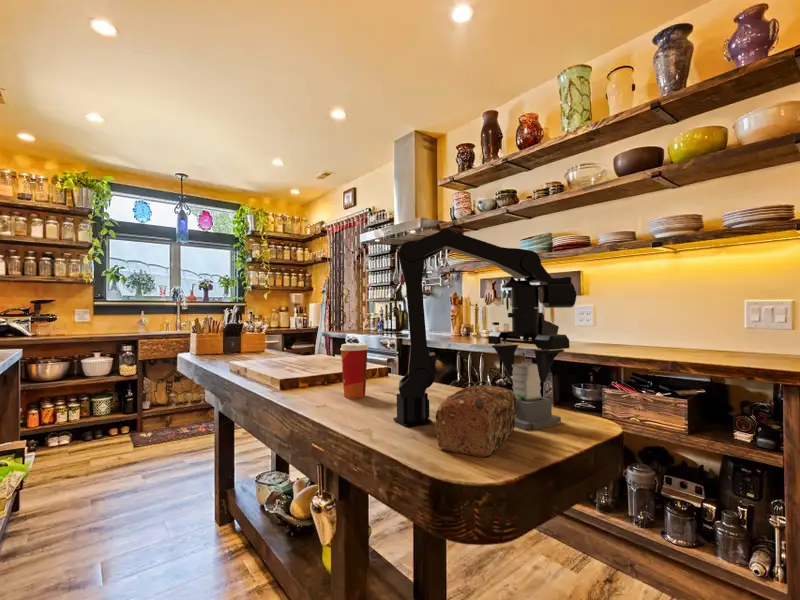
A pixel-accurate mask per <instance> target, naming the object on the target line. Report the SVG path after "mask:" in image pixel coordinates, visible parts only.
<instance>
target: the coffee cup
mask: <svg viewBox="0 0 800 600" xmlns="http://www.w3.org/2000/svg"><path fill="white" fill-rule="evenodd" d="M339 350H340V355H341V369H342V385H343V395H344V397H343V398H345V397H346V398H345V399H349V398H358V399H362V397H363V398H365V397H366V389H367V368H368V367H367V363H368V350H369V347H368V344H367V343H359V342H358V343H356V342H355V343H352V342H351V343H343V344H341V347H340V349H339ZM364 396H365V397H364Z"/></svg>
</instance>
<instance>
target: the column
mask: <svg viewBox="0 0 800 600" xmlns="http://www.w3.org/2000/svg"><path fill="white" fill-rule="evenodd" d="M512 367H513V372H512V374H513V376H512V378H511V381H512V386H511V387H512V392H513V393H514V394H515V397H519V398H521V401H524V402H532V401H538V400H540V397H542V393H541V390H542V386H541V383H542V382H541V381H540V378H539V373H538V368H537V363H533V362H520V363H514V364H512Z"/></svg>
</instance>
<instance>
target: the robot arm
mask: <svg viewBox="0 0 800 600" xmlns="http://www.w3.org/2000/svg"><path fill="white" fill-rule="evenodd" d="M398 249H399V250H398V253H397V254H398V261H399V266H400V269H401V272H402V276H403V280H404V283H405V291H406V292H405V293H406V300H407V301H406V303H407V305H406V306H407V316H408V317H407V318H408V328H409V330H408V331H409V340H410V342H409V343H410V347H409V348H410V349H409V357H408V367H407V368H408V369H407V373H406V374H405V375H404V376H403V377H402V378H401V379H399V382H398V383H399V384H398V391H399V393H396V417H395V416H394V417H393V418H392V419H393V421H395V422H396V423H399V424H400V425H403V426H404V427H406V428H408V427H416V426H419V425H420V426H421V425H427V424H430V423H433V420H432V419H430V416H431V415H430V399H429V398H428V396H429V395H428V392H427V389H428V388H430V387H431V386H432V385H433V384H434V382H435V377H436V375H438V374H439V372H438V371H437V367H436V366H437V365H436V362H437V355H436V353H435V352H434V351H432V352H430V351H429V348H428V342H427V330H426V319H425V317H426V316H425V306H424V304H425V303H424V294H423V293H424V292H423V277H424V268H425V260H427V259H429V258H431V257H433V256H435V255H436V254H438V253H439V252H442V251H443V250H449V251H452V252H456V253H457V254H462V255H464V256H467V257H470V258H472V259H476V260H479V261H482V262H485V263H488V264H491V265H493V266H494V267H495V266H496V267H497V268H499V269H500V270H501V271H503V272H505V273H506V274H508V275H510V276H511V277H508V279H507V280H506V281H505V282H504V283H503V284H502V285H501V288H502V289H511V312H508V313H507V318H511V323H512V324H511V328H512V329H511V330H509V331H508V330H504V331H503V330H500V331H499V330H498V331H490V332H489V334H488V337H487V339H488V341H487V343H488V344H490V345H491V347H492V348H493V349H494V350H495V352H496V354H497V355H498V356H499V359H500V361H501V362H502V364H503V366H504V368H505V371H506V373H507V374H508V377H513V374H512V372H513V367H512V364H515V356H516V355H515V353H516V351H517V349H518V348H519V344H525V345H534V346H536V348H537V349H534V356H535V361H536V364H537V368H538V373H539V378H540V381H541V382H540V383H546V381H547V378H548V376H549V373H550V370H551V368H552V365H553V362H554V360H555V359H556V357H557V356H558V355H559V354H560V353H564V352H565V349H570V338H569V337H568V336H567V334H559V333H558V331H559V328H560V327H559V325H556V324H554V323H552V322H551V321H548V320H545V315H544V313H543V312H540V309H539V307H540V305H539V303H540V304H542V305H543V306H544V308H546V309H550V308H551V309H552V308H553V309H554V308H555V309H558V308H561V309H563V308H564V309H565V308H568V309H569V308H573V307H574V306H575V304H576V300H577V291H576V288H575V285H574V283H573V282H572V277H571V276H563V277H552V276H551V275H550V273H548V271H547V269H545V267H544V266H543V265H542V261H541V260H542V259H541V258H540V255H539V254H538V253H537V252H535V251H533V250H531V249H523V248H519V247H518V248H512V247H503V246H498V245H496V244H493V243H490V242H487V241H483V240H481V239H477V238H475V237H472V236H468V235H465V234H462V233H459V232H456V231H453V230H452V229H450V228H446V227H445V228H442V229H440V230H439V231H437V232H435V233H433V234H431V235H428V236H426V237H423V238H421V239H419V240H416V241H415V240H409V241H406V242H404V243H402V245H401V246H400V247H399V248H398ZM515 278H516V279H518V280H516V279H515ZM519 279H520V280H519ZM537 283H539V284H537ZM521 337H522V338H521Z"/></svg>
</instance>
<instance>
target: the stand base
mask: <svg viewBox="0 0 800 600" xmlns="http://www.w3.org/2000/svg"><path fill="white" fill-rule="evenodd" d="M552 411H553V410H552V399H551V398H547V397H543V396H541V397H540V400H538V401H532V402H524V401H521V398H519V397H516V412H515V413H516V418H515V427H514V428H517V427H518V428H517V429H520V428H521V429H520V430H523V429H524V431H527V430H526V429H528V430H533V429H534V431H536V430H540V428H541V429H545V428H544V427H546V428H550V427H554V425H555V426H559V425H558V424H560V423H562V417H561V416H559V415H556V414H552V413H553V412H552ZM559 422H560V423H559ZM549 426H550V427H549ZM535 429H536V430H535Z"/></svg>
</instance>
